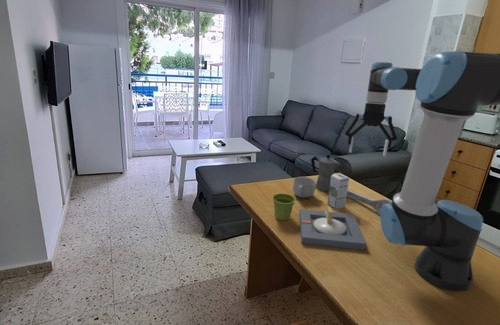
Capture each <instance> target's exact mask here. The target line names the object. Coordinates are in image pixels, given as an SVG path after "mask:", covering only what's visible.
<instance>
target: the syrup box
mask: <svg viewBox="0 0 500 325" xmlns="http://www.w3.org/2000/svg"><path fill="white" fill-rule="evenodd" d="M349 181H350V177H349V176H347V175H344V174H342V173H334V174H333V175H331V181H330V188H329V191H328V198H327V205H328V206H329V207H331V208H333V209H335V210H339V209H344V208H346V207H345V206H346V202H347V201H346V200H347V196H346V195H347V190H349V189H348V187H349Z"/></svg>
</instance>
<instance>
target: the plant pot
mask: <svg viewBox="0 0 500 325" xmlns="http://www.w3.org/2000/svg"><path fill="white" fill-rule="evenodd" d="M272 200H273V206H274V218H275V219H277V220H279V221H288V220H290V217H291V215H292V211H293V210H292V209H293V206H294V205H295V202H296V201H297V200H296V197H295V196H293V195H292V194H289V193H282V192H281V193H280V192H279V193H275V194H274V195H273V196H272Z"/></svg>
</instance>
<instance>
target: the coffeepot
mask: <svg viewBox="0 0 500 325" xmlns="http://www.w3.org/2000/svg"><path fill="white" fill-rule="evenodd" d="M330 156H331V155H330V154H326V157H319V156H313V157H311V159H310V162H311V167H312V172H314V173H317V172H318V176H317V180H316V187H315V189H317V190H319V191H322V192H329V188H330V181H331V175H334V174H335V170H336V169H337V168H338V167H339V166H341V163H340V162H339V161H337V160H335V159H334V158H330ZM315 161H317V162H318V170H316V165H315Z"/></svg>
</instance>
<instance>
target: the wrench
mask: <svg viewBox="0 0 500 325" xmlns="http://www.w3.org/2000/svg"><path fill="white" fill-rule="evenodd" d="M347 197H348V198H349V199H352V200H354V201H358V202H360V203H363V204H365V205H368V206H370V207H372V208H373V209H374V211H375V212H376V213H377V215H378V216H380V212H381V208H382V206H383V205H384V204H387V203H389V204H391V203H392V200H391V199H388V198H384V199H383V198H382V199H373V198H370V197H368V196H364V195H362V194H360V193H357V192H354V191H352V190H350V189H347V195H346V198H347Z"/></svg>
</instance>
